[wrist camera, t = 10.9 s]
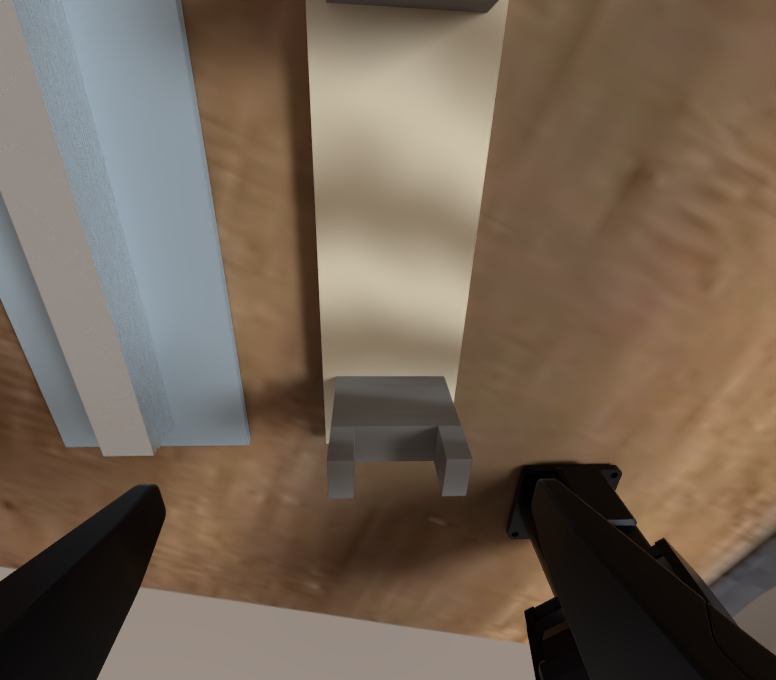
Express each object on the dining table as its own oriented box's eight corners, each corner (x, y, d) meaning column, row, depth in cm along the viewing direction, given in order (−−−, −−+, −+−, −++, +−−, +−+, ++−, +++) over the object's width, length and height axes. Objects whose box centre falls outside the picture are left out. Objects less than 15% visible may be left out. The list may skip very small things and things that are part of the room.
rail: (174, 424, 21) (154, 455, 19) (129, 424, 21) (103, 456, 19) (18, -165, 12) (-61, -234, 9) (-69, -172, 11) (-169, -245, 9)
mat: (250, 439, 23) (248, 445, 22) (71, 441, 22) (65, 447, 22) (146, -214, 12) (138, -228, 11) (-223, -249, 11) (-249, -267, 10)
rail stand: (445, 431, 23) (474, 535, 17) (327, 431, 23) (314, 539, 17) (520, -155, 13) (675, -446, 6) (300, -175, 12) (234, -511, 6)
